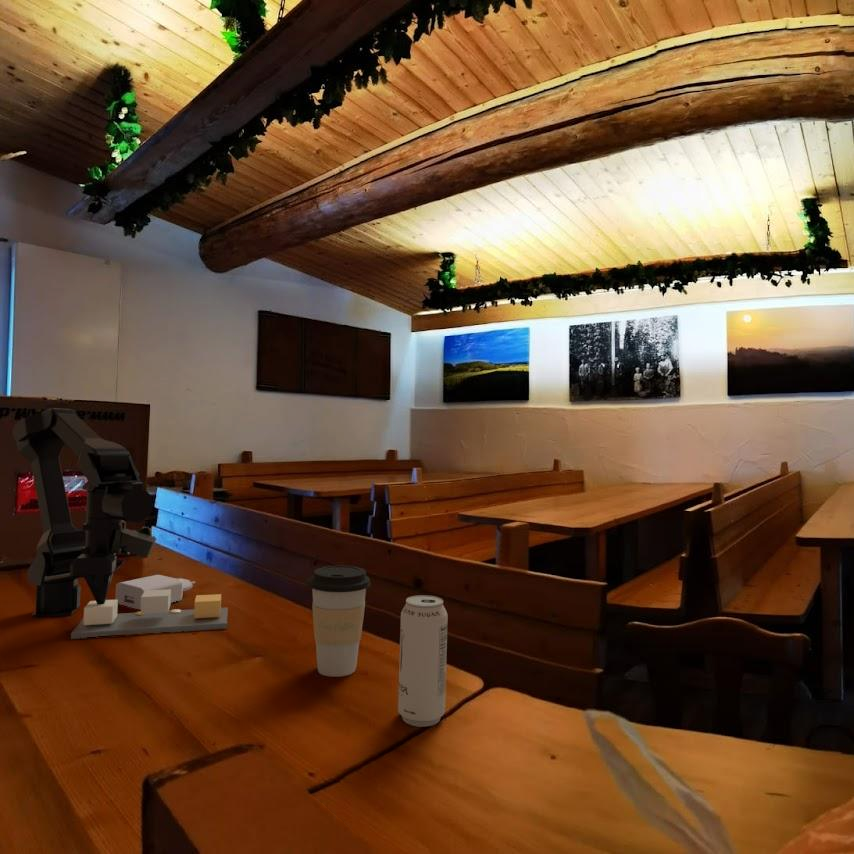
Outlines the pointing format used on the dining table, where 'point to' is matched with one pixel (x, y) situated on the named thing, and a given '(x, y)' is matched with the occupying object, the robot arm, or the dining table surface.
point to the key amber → (207, 606)
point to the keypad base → (152, 623)
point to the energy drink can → (422, 660)
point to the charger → (134, 589)
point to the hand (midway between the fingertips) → (101, 603)
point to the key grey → (155, 601)
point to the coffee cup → (338, 617)
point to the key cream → (100, 612)
